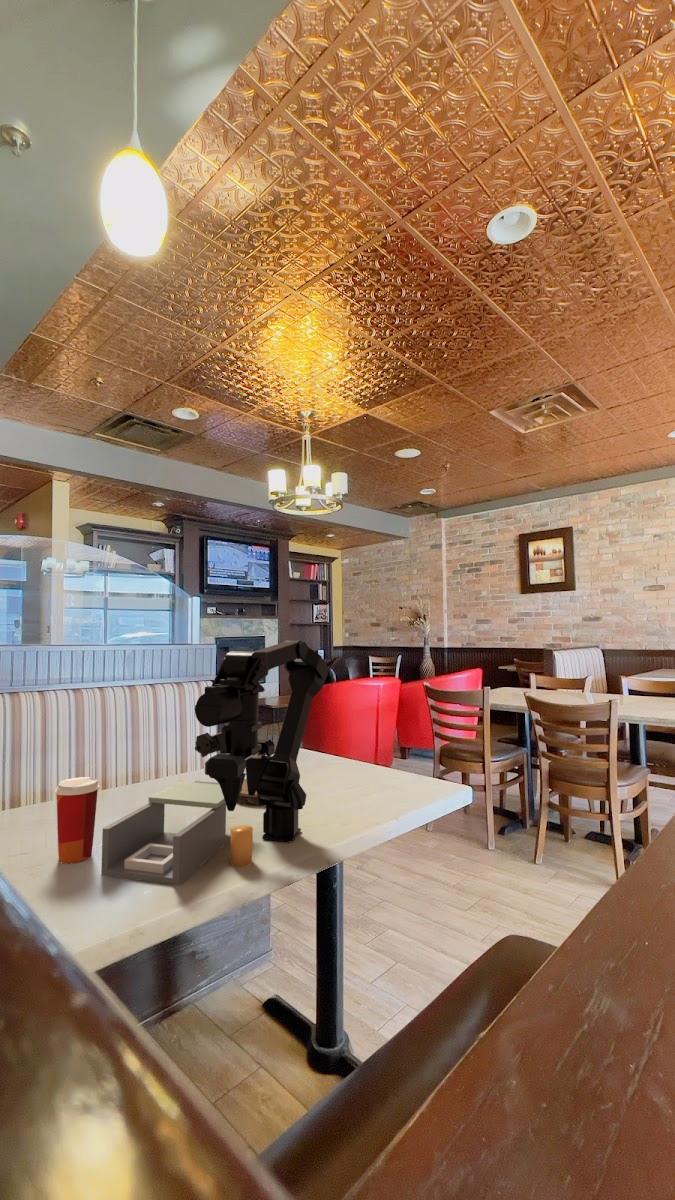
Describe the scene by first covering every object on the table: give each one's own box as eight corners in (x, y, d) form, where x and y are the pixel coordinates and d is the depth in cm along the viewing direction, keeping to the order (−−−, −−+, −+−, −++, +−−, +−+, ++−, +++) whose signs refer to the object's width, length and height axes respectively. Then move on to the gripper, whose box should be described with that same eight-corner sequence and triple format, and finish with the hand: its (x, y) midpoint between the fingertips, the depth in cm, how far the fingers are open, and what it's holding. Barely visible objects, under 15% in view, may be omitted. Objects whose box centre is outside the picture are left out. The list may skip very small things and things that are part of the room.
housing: (225, 843, 108) (226, 803, 109) (178, 885, 91) (179, 836, 91) (158, 836, 112) (159, 797, 112) (101, 875, 94) (102, 828, 95)
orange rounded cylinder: (255, 858, 101) (255, 826, 102) (247, 868, 97) (247, 834, 98) (235, 856, 102) (236, 824, 102) (226, 865, 98) (227, 832, 99)
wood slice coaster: (218, 796, 140) (218, 784, 140) (269, 784, 150) (269, 773, 151) (252, 811, 128) (252, 799, 128) (304, 798, 139) (305, 786, 139)
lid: (243, 798, 117) (243, 784, 117) (216, 819, 105) (217, 803, 105) (181, 793, 121) (181, 779, 121) (148, 812, 108) (148, 797, 108)
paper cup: (85, 845, 107) (88, 774, 107) (105, 856, 102) (107, 781, 103) (44, 858, 101) (47, 782, 101) (62, 870, 96) (65, 790, 97)
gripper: (225, 709, 112) (224, 785, 111) (178, 724, 94) (176, 815, 93) (275, 711, 110) (275, 789, 109) (237, 727, 91) (235, 821, 91)
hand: (241, 802), depth 100 cm, fingers open, 9 cm apart
